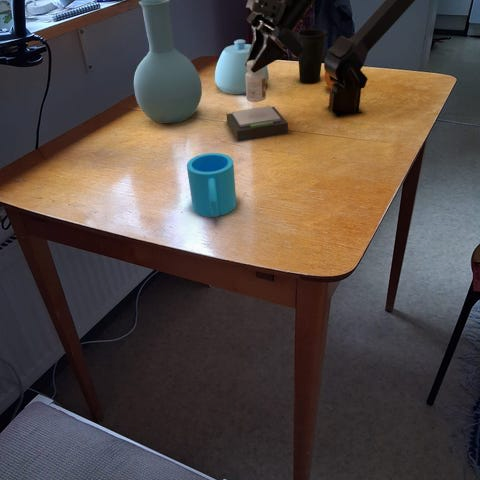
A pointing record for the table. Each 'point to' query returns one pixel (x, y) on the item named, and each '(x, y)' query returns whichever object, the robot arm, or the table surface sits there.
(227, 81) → the sugar bowl
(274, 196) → the table surface
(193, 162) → the mug
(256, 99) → the pill bottle
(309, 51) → the cup
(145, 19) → the vase
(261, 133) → the scale
